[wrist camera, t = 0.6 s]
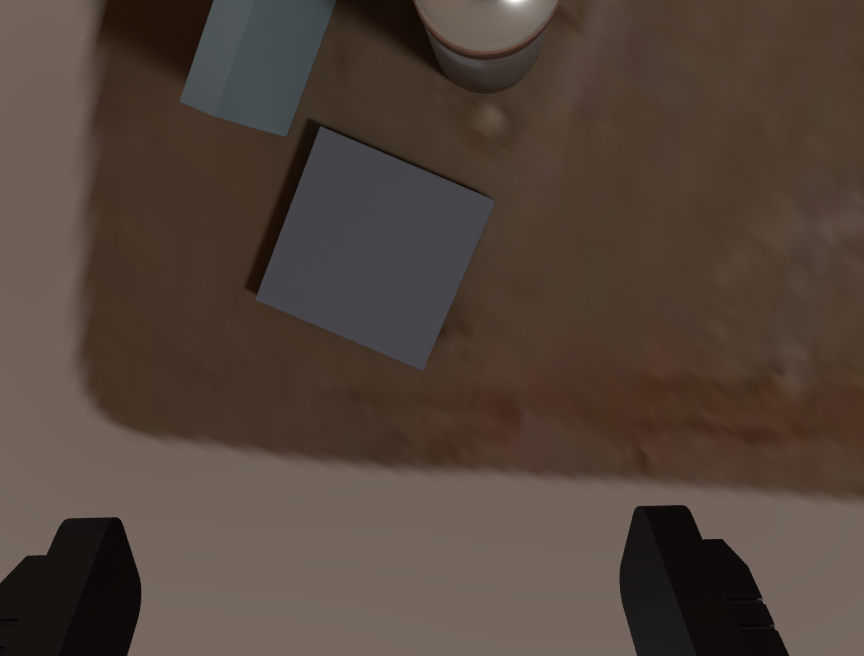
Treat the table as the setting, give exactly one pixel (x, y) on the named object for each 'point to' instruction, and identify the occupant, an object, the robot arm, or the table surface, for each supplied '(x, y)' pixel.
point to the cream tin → (486, 39)
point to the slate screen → (256, 60)
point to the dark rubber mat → (373, 248)
